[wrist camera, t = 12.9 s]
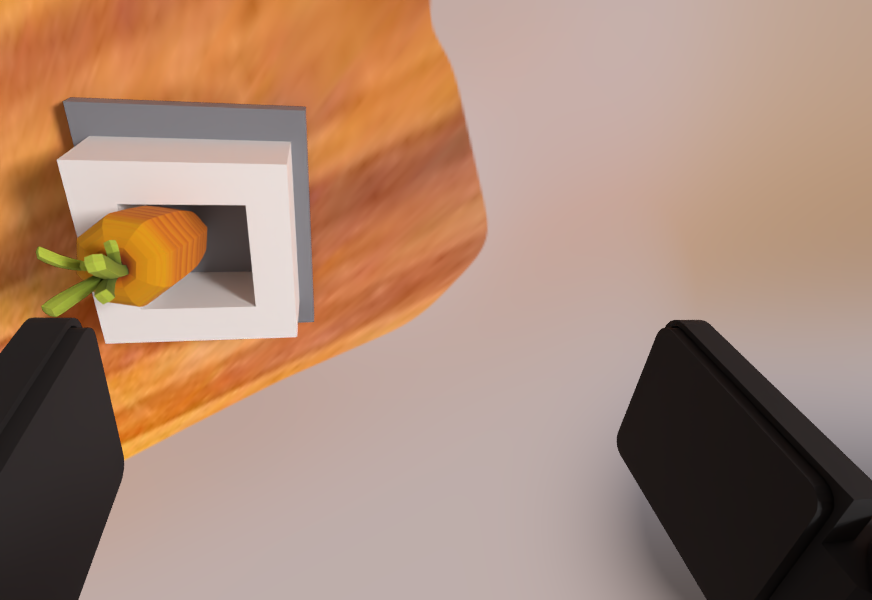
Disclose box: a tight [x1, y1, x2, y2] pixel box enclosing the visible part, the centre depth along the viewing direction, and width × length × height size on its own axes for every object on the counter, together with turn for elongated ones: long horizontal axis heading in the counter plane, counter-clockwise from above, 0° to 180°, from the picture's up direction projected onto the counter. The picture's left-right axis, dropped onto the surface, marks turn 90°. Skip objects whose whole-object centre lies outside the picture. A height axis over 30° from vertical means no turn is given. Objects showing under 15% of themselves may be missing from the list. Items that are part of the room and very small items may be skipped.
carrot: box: [36, 206, 207, 317], centre depth 31 cm, size 5×5×15 cm
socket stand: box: [57, 97, 314, 344], centre depth 37 cm, size 16×14×6 cm
